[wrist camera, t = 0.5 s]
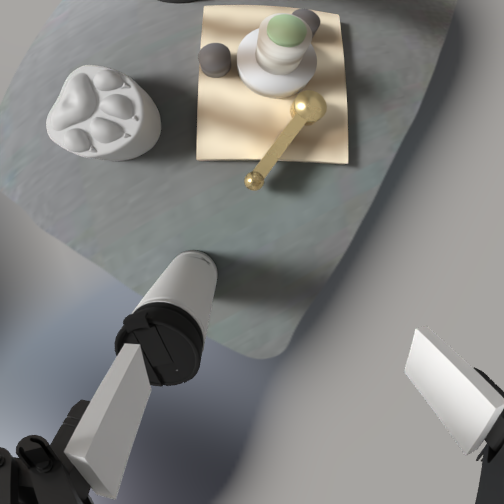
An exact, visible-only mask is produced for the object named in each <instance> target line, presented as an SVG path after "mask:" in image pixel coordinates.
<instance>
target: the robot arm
mask: <svg viewBox="0 0 504 504" xmlns="http://www.w3.org/2000/svg"><path fill="white" fill-rule="evenodd" d="M159 1H163V2H170V3H183V2H191V1H196V0H159ZM404 373H405V374H406V375H407V377H408V378H409V379H410V380H411V382H412V383H413V384H414V386H415V387H416V388H417V389H418V391H419V392H420V394H421V395H422V396H423V398H424V399H425V400H426V401H427V403H428V404H429V406H430V407H431V408H432V410H433V411H434V412H435V414H436V415H437V416H438V418H439V419H440V421H441V422H442V423H443V424H444V426H445V427H446V429H447V430H448V432H449V433H450V434H451V436H452V437H453V439H454V440H455V441H456V443H457V444H458V446H459V447H460V449H461V450H462V452H463V453H464V454H465V455H468V454H470V453H472V452H473V451H475V450H477V449H478V448H479V446H480V445H481V444H482V442H483V441H484V440H485V441H486V442H487V444H486V446H485V447H484V449H483V450H482V451H481V453H480V454H479V455H478V457H477V459H476V461H478V460H479V459H480V458H481V456H482V455H483V458H482V460H481V461H483V462H482V470H481V476H480V482H479V488H478V493H477V498H476V502H475V504H504V392H503V391H502V390H501V389H500V388H499V387H498V386H497V385H496V384H495V383H494V382H493V381H492V380H490V378H489V377H488V376H487V375H486V374H485V373H484V372H482V371H480V370H478V369H477V368H473V367H471V365H469V364H468V363H467V362H466V361H465V360H464V359H463V358H462V357H461V356H460V355H459V354H458V353H457V352H456V351H454V350H453V349H452V348H451V347H450V346H449V345H448V344H447V343H446V342H445V341H444V340H442V339H441V338H440V337H439V336H438V335H437V334H436V333H435V332H434V331H432V330H431V329H430V328H429V327H428V326H424V327H418V328H416V329H415V333H414V337H413V341H412V345H411V349H410V352H409V356H408V359H407V363H406V366H405V370H404ZM150 392H151V387H150V383H149V379H148V375H147V372H146V368H145V364H144V359H143V355H142V351H141V346H140V344H126V343H125V344H124V346H123V347H122V349H121V350H120V352H119V354H118V355H117V357H116V359H115V360H114V362H113V364H112V366H111V367H110V369H109V371H108V372H107V374H106V376H105V377H104V379H103V381H102V383H101V384H100V386H99V388H98V389H97V391H96V393H95V395H94V397H93V398H92V400H91V401H85V400H80V401H79V402H78V403H77V404H75V405H74V406H73V407H72V408H71V410H70V412H69V413H68V415H67V418H66V419H65V420H64V422H63V425H62V426H61V427H60V429H59V431H58V433H57V434H56V436H55V438H54V439H53V441H52V443H51V445H49V443H48V442H47V441H46V439H44V438H43V437H41V436H37V435H30V436H27V437H25V438H23V439H22V440H21V441H20V442H19V443H18V445H17V447H16V454H17V455H18V457H19V458H15V457H12V456H11V454H10V453H9V451H7V450H6V449H5V448H1V447H0V504H94V503H93V501H92V499H91V497H90V496H89V495H88V493H89V490H90V488H92V489H93V491H94V492H95V493H96V494H97V495H100V496H104V497H108V498H112V499H116V497H117V493H118V490H119V487H120V484H121V480H122V477H123V473H124V470H125V467H126V464H127V461H128V457H129V454H130V451H131V448H132V445H133V442H134V439H135V436H136V433H137V430H138V427H139V424H140V421H141V418H142V415H143V412H144V410H145V407H146V403H147V401H148V398H149V395H150Z"/></svg>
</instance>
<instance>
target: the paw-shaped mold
mask: <svg viewBox="0 0 504 504" xmlns="http://www.w3.org/2000/svg"><path fill="white" fill-rule="evenodd" d="M46 127H47V132H48V134H49V136H50V138H51V139H52V140H53V141H54V142H55V143H56V144H58V145H60V146H61V147H62V148H64V149H66V150H68V151H70V152H72V153H74V154H77V155H79V156H82V157H86V158H91V159H100V160H107V161H123V160H129V159H133V158H136V157H138V156H140V155H142V154H144V153H146V152H147V151H149V150H150V149H151V148H152V147H153V146H154V145H155V144H156V142H157V141H158V139H159V136H160V133H161V119H160V114H159V111H158V109H157V107H156V105H155V103H154V102H153V100H152V99H151V97H150V96H149V95H148V94H147V93H146V92H145V91H144V90H143V89H142V88H141V87H140V86H139V85H138V84H137V83H136V82H135V81H134V80H133V79H131V78H130V77H129V76H127V75H125V74H123V73H121V72H119V71H117V70H114V69H111V68H108V67H102V66H97V65H84V66H81V67H79V68H77V69H76V70H74V71H73V72H72V73H71V74H70V75H69V76H68V78H67V79H66V81H65V83H64V85H63V88H62V90H61V93H60V95H59V97H58V99H57V101H56V102H55V104H54V106H53V107H52V109H51V110H50V112H49V115H48V117H47V121H46Z"/></svg>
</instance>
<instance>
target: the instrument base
mask: <svg viewBox="0 0 504 504" xmlns="http://www.w3.org/2000/svg"><path fill="white" fill-rule="evenodd" d="M198 60H199V63H200V66H199V85H198V110H197V160H198V161H216V160H261V159H262V158H263V156H264V155H265V154H266V152H267V151H268V150H269V148H270V147H271V146H272V144H273V143H274V142H275V140H276V139H277V138H278V136H279V135H280V134H281V132H282V131H283V130H284V128H285V127H286V126H287V124H288V123H289V122H290V120H291V119H292V117H291V115H290V106H291V104H292V102H293V101H294V100H295V98H296V97H297V95H298V94H299V93H301V92H303V91H306V90H312V91H315V92H317V93H319V94H320V95H322V96H323V98H324V99H325V101H326V104H327V110H326V113H325V115H324V116H323V117H322V118H321V119H319V120H318V121H317V122H315V123H314V124H312V125H309V126H303V127H302V128H301V130H300V131H299V132H298V134H297V135H296V136H295V138H294V139H293V140H292V142H291V143H290V144H289V146H288V147H287V148H286V150H285V151H284V153H283V154H282V155H281V157H280V158H279V159H278V161H295V162H315V163H330V164H348V116H347V94H346V78H345V65H344V54H343V44H342V35H341V27H340V19H339V15H337V14H332V13H326V12H320V11H313V10H308V9H298V8H289V7H277V6H260V5H215V6H204V13H203V24H202V36H201V50H200V52H199V54H198Z"/></svg>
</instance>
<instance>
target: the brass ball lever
mask: <svg viewBox="0 0 504 504" xmlns="http://www.w3.org/2000/svg"><path fill="white" fill-rule="evenodd" d="M326 110H327V104H326V101H325V99H324V98H323V96H322V95H320V94H319V93H317V92H315V91H312V90H306V91H303V92H301V93H299V94H298V95H297V97H296V98H295V100H294V101H293V102H292V104H291V106H290V115H291V117H292V119H291V120H290V122H289V123H288V124H287V126H286V127H285V128H284V130H283V131H282V132H281V134H280V135H279V136H278V138H277V139H276V140H275V142H274V143H273V144H272V146H271V147H270V148H269V150H268V151H267V152H266V154H265V155H264V156H263V158H262V159H261V160H260V162H259V163H258V165H257V166H256V167H255V169H254V170H253V171H252V172H250V173H248V174H247V175H246V177H245V179H244V183H245V186H246V187H247V188H248V189H250V190H259V189H260V188H261V187H262V186H263V184H264V178H265V177H266V176H267V174H268V173H269V172H270V170H271V169H272V167H273V166H274V165H275V163H276V162H277V161H278V159H279V158H280V157H281V155H282V154H283V153H284V151H285V150H286V148H287V147H288V146H289V144H290V143H291V142H292V140H293V139H294V138H295V136H296V135H297V134H298V132H299V131H300V130H301V128H302V127H303V126H309V125H312V124H314V123H315V122H317V121H318V120H319V119H321V118H322V117H323V116H324V115H325V113H326Z"/></svg>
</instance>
